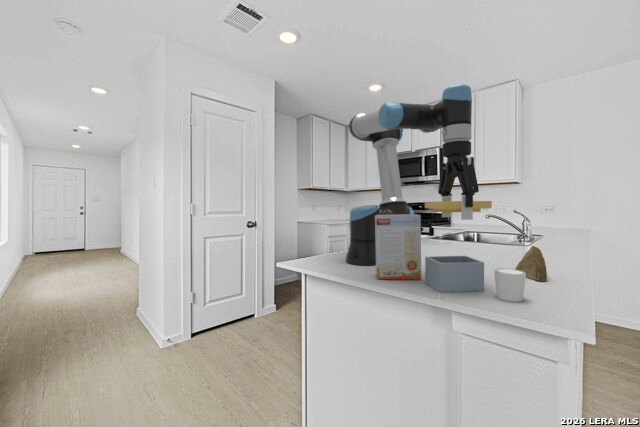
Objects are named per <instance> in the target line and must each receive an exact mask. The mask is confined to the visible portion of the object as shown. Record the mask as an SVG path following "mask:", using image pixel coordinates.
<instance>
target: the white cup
mask: <svg viewBox="0 0 640 427" xmlns="http://www.w3.org/2000/svg"><path fill="white" fill-rule="evenodd" d="M493 272H494V282H495V290H496V292H495V293H496V297H497V298H498V299H499V300H502V301H506V302H510V303H511V302H512V303H514V302H515V303H521V302H523V301H524V300H523V299H524V292H525V286H526V273H525V272H523V271H520V270H515V269H514V268H496V269H494V270H493Z"/></svg>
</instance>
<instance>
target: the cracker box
mask: <svg viewBox="0 0 640 427" xmlns="http://www.w3.org/2000/svg"><path fill="white" fill-rule="evenodd" d="M421 219H422V215H421V214H417V213H414V214H388V215H375V244H376V265H375V275H376V279H377V280H418V281H419V280H422V230H421V228H422V226H421V224H422V220H421Z"/></svg>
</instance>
